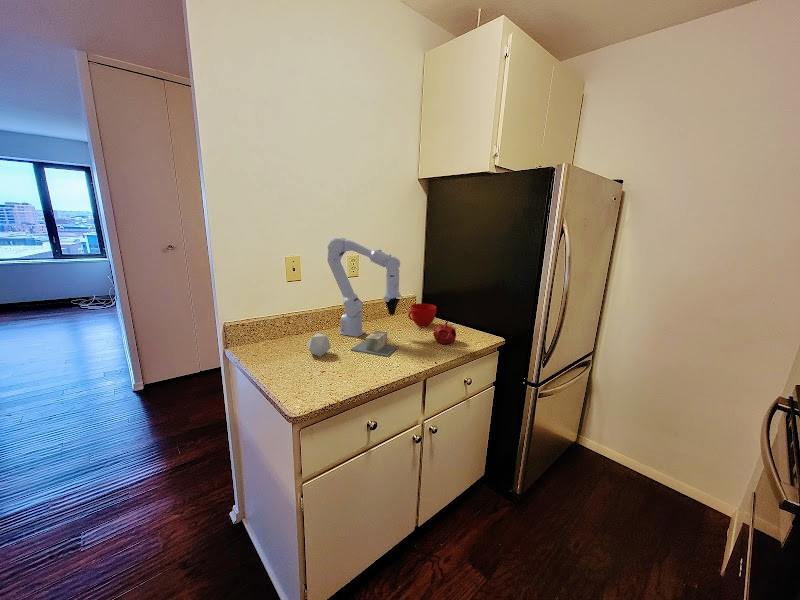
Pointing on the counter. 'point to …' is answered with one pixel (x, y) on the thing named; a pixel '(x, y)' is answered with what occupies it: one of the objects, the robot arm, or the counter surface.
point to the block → (376, 341)
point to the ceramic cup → (422, 314)
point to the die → (318, 344)
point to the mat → (383, 351)
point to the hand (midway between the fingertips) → (391, 314)
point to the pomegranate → (444, 334)
